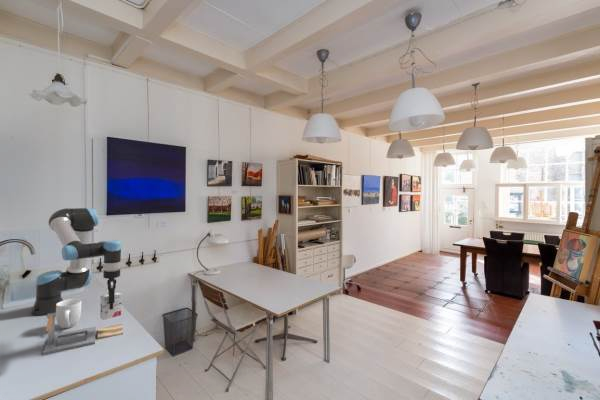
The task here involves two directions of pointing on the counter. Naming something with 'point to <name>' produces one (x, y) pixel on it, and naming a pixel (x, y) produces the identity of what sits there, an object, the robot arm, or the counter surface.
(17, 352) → the counter surface
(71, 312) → the mug
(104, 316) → the ink box
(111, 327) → the pad
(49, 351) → the stand
